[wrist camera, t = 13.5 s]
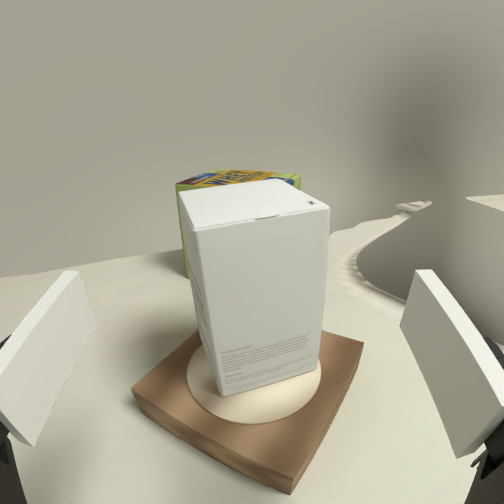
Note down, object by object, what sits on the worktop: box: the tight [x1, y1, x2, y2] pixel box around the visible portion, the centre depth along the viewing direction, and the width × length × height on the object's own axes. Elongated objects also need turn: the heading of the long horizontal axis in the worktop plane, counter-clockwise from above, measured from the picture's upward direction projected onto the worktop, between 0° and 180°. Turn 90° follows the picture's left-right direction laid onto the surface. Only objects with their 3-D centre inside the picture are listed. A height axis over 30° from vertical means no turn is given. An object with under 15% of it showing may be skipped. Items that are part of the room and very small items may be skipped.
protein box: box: [175, 169, 301, 278], centre depth 47 cm, size 10×15×16 cm
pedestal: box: [131, 330, 364, 495], centre depth 28 cm, size 16×16×4 cm
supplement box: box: [178, 179, 330, 397], centre depth 25 cm, size 9×9×15 cm
